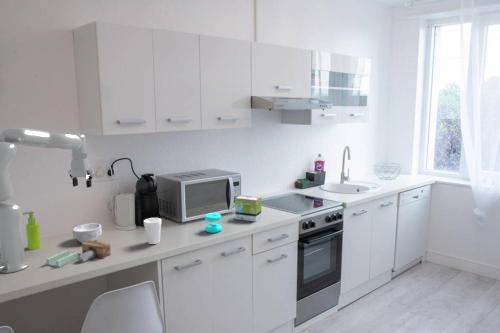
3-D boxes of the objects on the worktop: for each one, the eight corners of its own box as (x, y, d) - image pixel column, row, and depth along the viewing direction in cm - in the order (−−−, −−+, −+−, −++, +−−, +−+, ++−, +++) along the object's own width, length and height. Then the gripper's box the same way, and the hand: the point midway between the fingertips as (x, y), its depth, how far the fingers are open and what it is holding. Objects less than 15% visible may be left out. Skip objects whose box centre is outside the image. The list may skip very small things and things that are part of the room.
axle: (84, 263, 194) (84, 255, 193) (78, 261, 195) (78, 254, 194) (105, 253, 206) (105, 245, 206) (99, 251, 208) (99, 244, 207)
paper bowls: (74, 238, 230) (73, 224, 228) (102, 234, 235) (101, 221, 234) (73, 246, 216) (71, 232, 214) (102, 242, 221) (101, 229, 220)
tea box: (235, 219, 260) (234, 197, 258) (241, 215, 270) (240, 194, 267) (256, 222, 255) (255, 199, 252) (261, 217, 264) (261, 196, 261)
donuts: (211, 211, 244) (224, 213, 239) (211, 227, 245) (225, 229, 240) (201, 215, 235) (214, 218, 230) (201, 231, 237) (215, 234, 232)
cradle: (59, 267, 188) (59, 261, 187) (46, 264, 192) (45, 258, 191) (79, 258, 199) (79, 252, 198) (66, 255, 202) (65, 250, 202)
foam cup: (146, 246, 213) (144, 223, 211) (144, 241, 222) (142, 219, 220) (163, 244, 217) (162, 221, 215) (161, 239, 225) (160, 217, 223)
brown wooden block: (103, 258, 198) (102, 246, 197) (82, 254, 204) (81, 243, 203) (110, 254, 203) (110, 243, 202) (90, 251, 208) (89, 240, 207)
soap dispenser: (26, 247, 216) (22, 211, 213) (41, 245, 219) (37, 210, 215) (25, 250, 211) (21, 214, 207) (40, 248, 213) (36, 212, 210)
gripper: (62, 157, 220) (65, 187, 223) (87, 158, 214) (89, 188, 217) (72, 155, 227) (75, 184, 230) (96, 156, 221) (99, 186, 224)
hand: (82, 186), depth 223 cm, fingers open, 9 cm apart
